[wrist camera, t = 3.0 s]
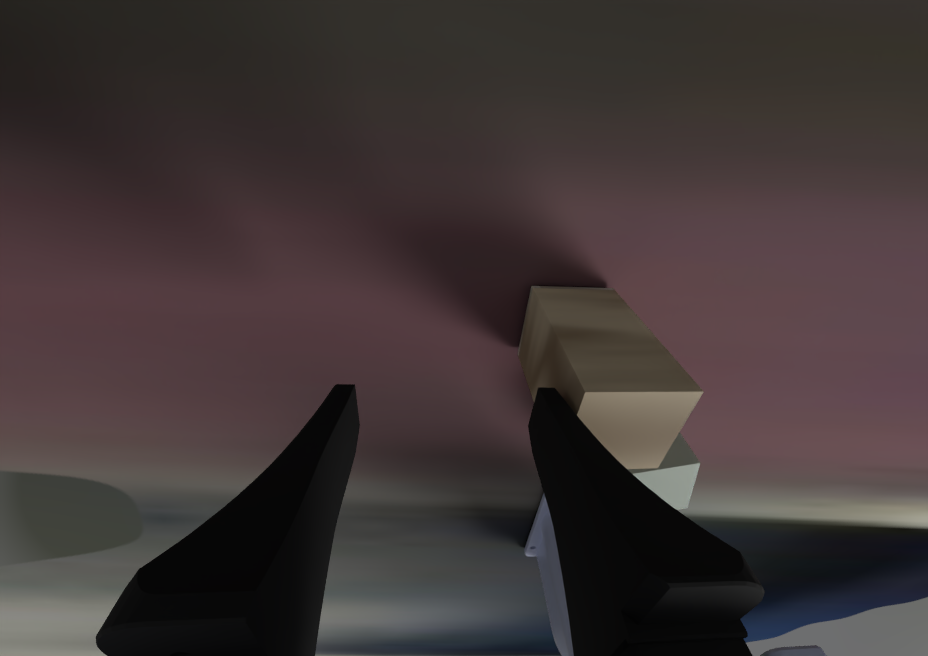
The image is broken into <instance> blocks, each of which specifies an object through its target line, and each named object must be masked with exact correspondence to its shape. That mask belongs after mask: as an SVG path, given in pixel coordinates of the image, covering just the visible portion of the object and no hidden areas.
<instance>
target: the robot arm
mask: <svg viewBox="0 0 928 656" xmlns="http://www.w3.org/2000/svg"><path fill="white" fill-rule="evenodd" d="M359 426H360V424H359V416H358V407H357V399H356V390H355V385H346V384H337V385H335V386H334V387H333V389H332V390H331V392H330V393H329V395H328V396H327V397H326V399H325V400H324V402H323V403H322V404H321V406H320V407H319V408H318V410H317V411H316V412H315V414H314V415H313V416H312V418H311V419H310V420H309V421H308V423H307V424H306V425H305V426H304V428H303V429H302V430H301V431H300V433H299V434H298V435H297V436H296V437H295V438H294V440H293V441H292V442H291V443H290V444H289V445H288V446H287V447H286V449H285V450H284V451H283V452H282V453H281V454H280V455H279V456H278V457H277V458H276V459H275V461H274V462H273V463H272V464H271V465H270V466H269V467H268V468H267V469H266V470H265V471H264V472H263V473H262V474H261V475H259V476H258V477H257V478H256V479H255V480H254V481H253V482H252V483H251V484H250V485H249V486H248V487H247V488H245V489H244V490H243V491H242V492H241V493H240V494H239V495H238V496H237V497H235V498H234V499H233V500H232V501H231V502H230V503H228V504H227V505H226V506H225V507H224V508H222V509H221V510H220V511H219V512H217V513H216V514H215V515H213V516H212V517H211V518H210V519H208V520H207V521H206V522H205V523H203V524H202V525H201V526H199V527H198V528H197V529H196V530H194V531H193V532H192V533H190V534H189V535H188V536H186V537H185V538H184V539H182V540H181V541H179V542H178V543H176V544H175V545H174V546H172V547H171V548H169V549H168V550H166V551H165V552H164V553H162V554H161V555H159V556H158V557H156V558H155V559H153V560H152V561H151V562H149V563H148V564H146V565H145V566H143V567H142V568H140V569H139V570H138V571H137V573H136V574H135V576H134V577H133V578H132V580H131V581H130V582H129V584H128V585H127V586H126V588H125V589H124V591H123V593H122V594H121V596H120V597H119V599H118V601H117V602H116V604H115V606H114V607H113V609H112V611H111V612H110V614H109V616H108V617H107V619H106V621H105V622H104V624H103V626H102V627H101V629H100V631H99V632H98V634H97V636H96V644H97V647H98V648H99V649H100V650H101V651H102V652H103V653H104V654H106V655H107V656H315V650H316V643H317V636H318V629H319V622H320V616H321V609H322V603H323V596H324V590H325V584H326V578H327V572H328V566H329V560H330V554H331V549H332V543H333V538H334V532H335V527H336V523H337V519H338V515H339V511H340V507H341V504H342V500H343V496H344V493H345V489H346V486H347V482H348V478H349V475H350V471H351V467H352V464H353V460H354V456H355V452H356V446H357V440H358V433H359ZM528 428H529V435H530V441H531V447H532V453H533V456H534V460H535V464H536V467H537V471H538V474H539V477H540V481H541V484H542V488H543V491H544V493H543V496H542V499H541V502H540V505H539V508H538V511H537V514H536V517H535V520H534V523H533V526H532V528H531V531H530V534H529V537H528V540H527V543H526V546H525V549H524V551H525V555H526V556H537V560H538V565H539V570H540V575H541V580H542V585H543V590H544V594H545V599H546V604H547V609H548V614H549V619H550V624H551V629H552V633H553V637H554V640H555V643H556V645H557V647H558V649H559V651H560V653H561V655H562V656H752V654H751V652H750V650H749V648H748V647H747V645H746V643H745V641H744V639H743V638H746V637H747V636H748V635H747V631H746V629H745V627H744V626H743V624H742V622H741V620H740V618H742V617H743V616H744V615H745V614H747V613H748V612H749V611H750V610H752V609H753V608H754V607H755V606H757V605H758V604H759V603H760V602H761V601H762V598H763V596H764V592H765V591H764V589H763V587H762V585H761V584H760V582H759V581H758V579H757V577H756V576H755V574H754V572H753V571H752V569H751V568H750V566H749V565H748V563H747V562H746V560H745V559H744V557H743V556H742V554H741V553H740V552H739V551H738V550H736V549H735V548H733V547H731V546H730V545H728V544H727V543H725V542H723V541H722V540H720V539H719V538H717V537H716V536H714V535H712V534H711V533H709V532H708V531H706V530H704V529H703V528H701V527H700V526H699V525H697V524H696V523H694V522H693V521H691V520H690V519H689V518H687V517H686V516H684V515H683V514H681V513H680V512H679V511H677V510H676V509H675V508H673V507H672V506H671V505H669V504H668V503H667V502H665V501H664V500H663V499H662V498H660V497H659V496H658V495H657V494H655V493H654V492H653V491H652V490H650V489H649V488H648V487H647V486H646V485H644V484H643V483H642V482H641V481H640V480H638V479H637V478H636V477H635V476H634V475H633V474H632V473H631V472H630V471H629V470H627V469H626V468H625V467H624V466H623V465H622V464H621V463H620V462H619V461H618V460H617V459H616V458H615V457H614V456H613V455H612V454H611V453H610V452H609V451H608V450H607V449H606V448H605V447H604V446H603V445H602V444H601V442H600V441H599V440H598V439H597V438H596V437H595V436H594V435H593V434H592V432H591V431H590V430H589V429H588V428H587V427H586V425H585V424H584V423H583V422H582V421H581V420H580V418H579V417H578V416H577V415H576V413H575V412H574V411H573V410H572V409H571V407H570V406H569V405H568V404H567V402H566V401H565V400H564V398H563V397H562V396H561V395H560V393H559V392H558V391H557V390H556V389H555V388H547V387H538V390H537V394H536V398H535V402H534V406H533V409H532V413H531V417H530V421H529V425H528ZM760 656H826V655H825V653H824V651H823V650H822V649H821V648H820V647H818V646H816V645H815V646H795V647H781V648H775V649H771V650H769V651H766V652H764V653H763V654H762V655H760Z"/></svg>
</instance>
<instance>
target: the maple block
mask: <svg viewBox="0 0 928 656" xmlns="http://www.w3.org/2000/svg"><path fill="white" fill-rule="evenodd" d="M518 357H519V359H520V362H521V365H522V368H523V371H524V374H525V377H526V380H527V383H528V386H529V389H530V392H531V395H532V398H533V401H534V402H535V398H536V394H537V390H538V387H547V388H555V389H556V390H557V391H558V392H559V393H560V395H561V396H562V397H563V398H564V400H565V401H566V402H567V404H568V405H569V406H570V407H571V409H572V410H573V411H574V412H575V413H576V415H577V416H578V417H579V418H580V420H581V421H582V422H583V423H584V424H585V425H586V427H587V428H588V429H589V430H590V431H591V432H592V434H593V435H594V436H595V437H596V438H597V439H598V440H599V441H600V442H601V444H602V445H603V446H604V447H605V448H606V449H607V450H608V451H609V452H610V453H611V454H612V455H613V456H614V457H615V458H616V459H617V460H618V461H619V462H620V463H621V464H622V465H623V466H624V467H625V468H626V469H648V468H658V467H659V465H660V464H661V462H662V460H663V459H664V457H665V455H666V454H667V452H668V450H669V449H670V447H671V445H672V444H673V442H674V440H675V439H676V437H677V435H678V434H679V432H680V430H681V429H682V427H683V425H684V424H685V422H686V420H687V419H688V417H689V415H690V414H691V412H692V410H693V409H694V407H695V405H696V404H697V402H698V400H699V399H700V397H701V395H702V394H703V390H702V389H701V388H700V387H699V386H698V385H697V384H696V382H695V381H694V380H693V379H692V378H691V377H690V376H689V374H688V373H687V372H686V371H685V370H684V369H683V368H682V366H681V365H680V364H679V363H678V362H677V361H676V360H675V358H674V357H673V356H672V355H671V354H670V353H669V352H668V350H667V349H666V348H665V347H664V346H663V345H662V344H661V342H660V341H659V340H658V339H657V338H656V337H655V336H654V334H653V333H652V332H651V331H650V330H649V329H648V328H647V326H646V325H645V324H644V323H643V322H642V321H641V320H640V319H639V317H638V316H637V315H636V314H635V313H634V312H633V311H632V309H631V308H630V307H629V306H628V305H627V304H626V303H625V301H624V300H623V299H622V298H621V297H620V296H619V295H618V293H617V292H616V291H615V290H614V289H613V288H587V287H554V286H531V290H530V295H529V300H528V305H527V310H526V315H525V320H524V325H523V330H522V335H521V339H520V344H519V349H518Z"/></svg>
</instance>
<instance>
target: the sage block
mask: <svg viewBox="0 0 928 656" xmlns="http://www.w3.org/2000/svg"><path fill="white" fill-rule="evenodd" d="M699 466H700V462H699V460H698V459H697V457H696V456H695V454H694V453H693V451H692V450H691V448H690V447H689V445H688V444H687V442H686V441H685V440H684V438H683V437H682V435H681V434H680V432H679V434H678V435H677V437H676V439H675V440H674V442H673V444H672V445H671V447H670V449H669V450H668V452H667V454H666V455H665V457H664V459H663V460H662V462H661V464H660V465H659V467H658V468H648V469H627V470H629V471H630V472H631V473H632V474H633V475H634V476H635V477H636V478H637V479H638V480H640V481H641V482H642V483H643V484H644V485H646V486H647V487H648V488H649V489H650V490H652V491H653V492H654V493H655V494H657V495H658V496H659V497H660V498H662V499H663V500H664V501H665V502H667V503H668V504H669V505H671V506H672V507H673V508H675V509H676V510H677V509H684V508H688V504H689V501H690V497H691V494H692V490H693V487H694V483H695V480H696V476H697V473H698V469H699Z"/></svg>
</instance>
